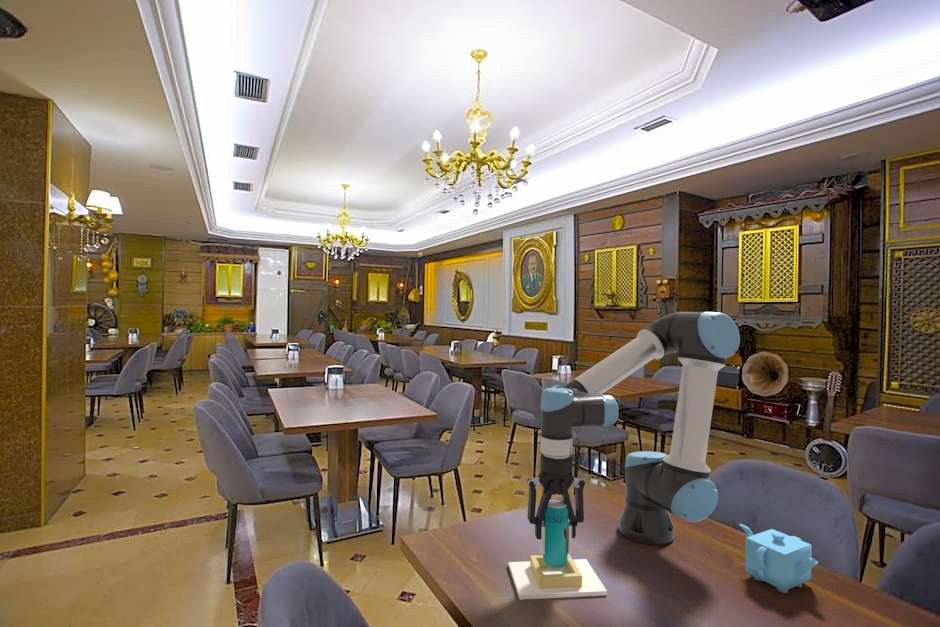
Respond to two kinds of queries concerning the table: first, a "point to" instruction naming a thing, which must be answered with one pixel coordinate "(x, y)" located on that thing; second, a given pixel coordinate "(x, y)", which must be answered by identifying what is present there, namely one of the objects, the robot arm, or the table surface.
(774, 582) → the teapot
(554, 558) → the beverage can
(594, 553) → the table surface
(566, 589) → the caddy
